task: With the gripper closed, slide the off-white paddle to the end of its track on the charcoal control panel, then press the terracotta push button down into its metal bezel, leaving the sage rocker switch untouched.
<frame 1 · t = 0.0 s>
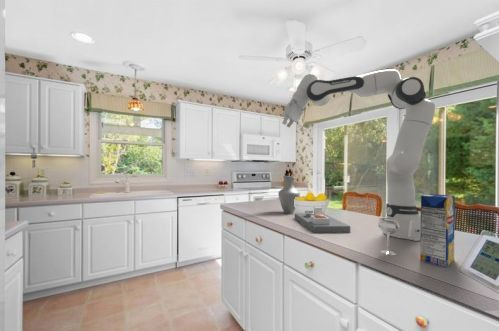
hand: (285, 125, 134), 54 cm above the worktop, tool tilted 30°, fingers open, 8 cm apart
wineglass: (388, 253, 88), on the worktop
rocker switch: (308, 211, 136), point 6 cm above the worktop, hinge at 12.0°
vase: (288, 212, 163), on the worktop
control panel: (319, 224, 130), on the worktop
beverage box: (437, 260, 81), on the worktop
paddle: (317, 210, 141), point 6 cm above the worktop, slide at 0.0 cm
push button: (319, 216, 120), point 6 cm above the worktop, slide at 0.0 cm
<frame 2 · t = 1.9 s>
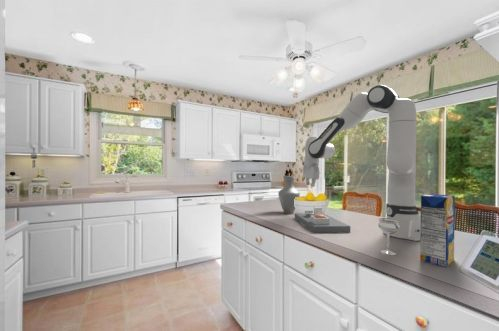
hand: (310, 185, 147), 20 cm above the worktop, tool pointing down, fingers open, 8 cm apart
nothing on the worktop moved.
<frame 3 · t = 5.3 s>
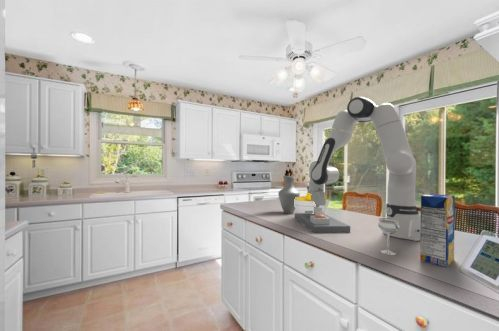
hand: (316, 210, 144), 5 cm above the worktop, tool pointing down, fingers closed
paddle: (317, 210, 141), point 6 cm above the worktop, slide at 0.0 cm, touching gripper
everything else where it was.
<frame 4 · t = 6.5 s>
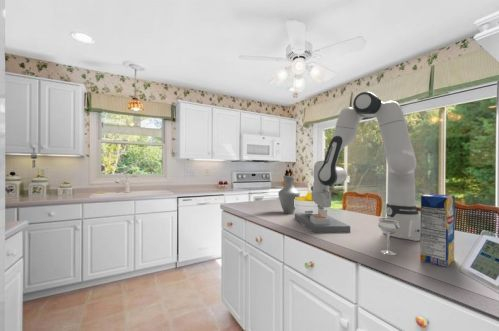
hand: (320, 212, 137), 5 cm above the worktop, tool pointing down, fingers closed
paddle: (322, 212, 134), point 6 cm above the worktop, slide at 6.8 cm, touching gripper
everything else where it was.
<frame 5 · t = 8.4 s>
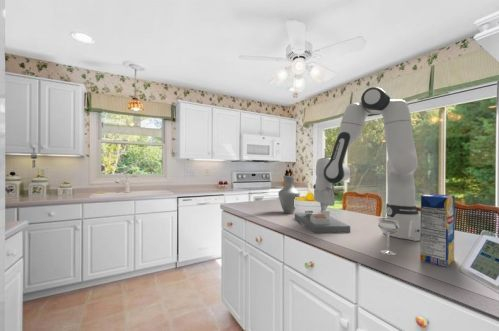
hand: (323, 211, 133), 7 cm above the worktop, tool pointing down, fingers closed
paddle: (325, 213, 131), point 6 cm above the worktop, slide at 10.2 cm, touching gripper
everything else where it was.
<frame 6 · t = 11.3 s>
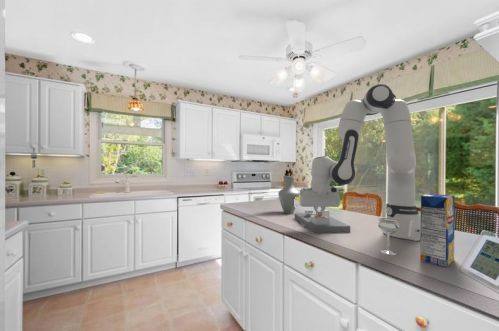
hand: (319, 215, 121), 7 cm above the worktop, tool pointing down, fingers closed, pressing on push button
paddle: (324, 213, 131), point 6 cm above the worktop, slide at 10.1 cm
push button: (319, 217, 120), point 6 cm above the worktop, slide at 0.4 cm, touching gripper
everything else where it was.
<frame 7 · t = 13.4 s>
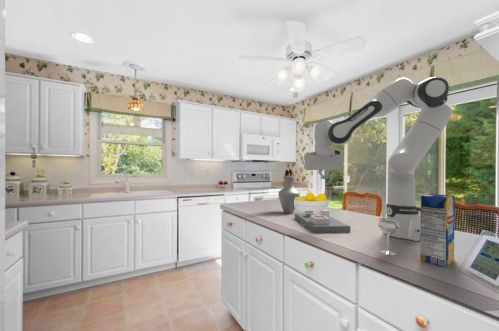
hand: (324, 178, 123), 25 cm above the worktop, tool pointing down, fingers closed
push button: (319, 220, 120), point 4 cm above the worktop, slide at 1.5 cm
everything else where it was.
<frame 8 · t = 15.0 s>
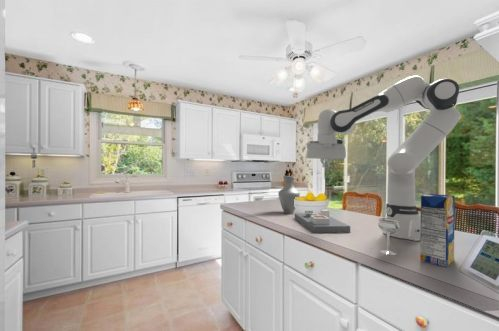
hand: (325, 167, 125), 31 cm above the worktop, tool pointing down, fingers closed
nothing on the worktop moved.
at the end: paddle slide at 10.1 cm; push button slide at 1.5 cm; rocker switch at +12° (first picture: +12°) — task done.
